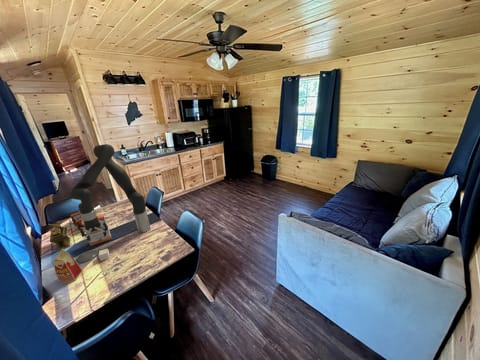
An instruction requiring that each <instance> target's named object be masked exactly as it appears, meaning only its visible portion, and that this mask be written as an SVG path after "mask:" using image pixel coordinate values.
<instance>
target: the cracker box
mask: <svg viewBox="0 0 480 360" xmlns="http://www.w3.org/2000/svg"><path fill="white" fill-rule="evenodd" d="M97 217H98V220H99V222H100V223H102V222H104V221H105V222H106V224H107V226H108V230H106V233H107V235H106V237H104V234H103V232H102V231H99V230H98V231H94V232H90V234H89V236H90V238H91V241H88V244H89V247H92V246H96V245H99V244H101V243H104V242H106V241H110V240H112V234H111V232H110V229H109V225H108V222H107V219H106V216H105V214H104V213H102V214H98V215H97ZM82 225H83V227H85V224H84V222H83V220H82ZM101 227H102V228H104V229H105V227H104V226H103V225H101ZM87 232H88V230H86V229H85V230H84V233H85V234H86V233H87Z"/></svg>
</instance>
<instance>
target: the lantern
mask: <svg viewBox="0 0 480 360" xmlns="http://www.w3.org/2000/svg"><path fill="white" fill-rule="evenodd" d="M70 219H71V221H72V224H73V225H74V226H77V230H78V231H79V232H80V228H81V227H83V225H82V217H81V213H80V211H78V212H76V213H72V214H70Z"/></svg>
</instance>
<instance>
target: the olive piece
mask: <svg viewBox="0 0 480 360" xmlns="http://www.w3.org/2000/svg"><path fill="white" fill-rule="evenodd" d="M47 225H49V226H54V229H52V231H51V233H50V236H49V237H50V238H49V242H50V243H53V244H55V245H56V248H55V250H56V251H61V249H62V248H63V250H64V249H66V248H70V246H71V237H70V236H69V235H68V226H61V222H60V221H56V223H55V224H54V223H52V224H50V223H48V224H47Z"/></svg>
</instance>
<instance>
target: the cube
mask: <svg viewBox="0 0 480 360" xmlns="http://www.w3.org/2000/svg"><path fill="white" fill-rule="evenodd" d="M109 255H110V252H109V249H108V248H105V249H101V250H99V251H98V258H99V260H100V261H101V262H103V261H106V260H108V259H110V256H111V255H110V256H109Z"/></svg>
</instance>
